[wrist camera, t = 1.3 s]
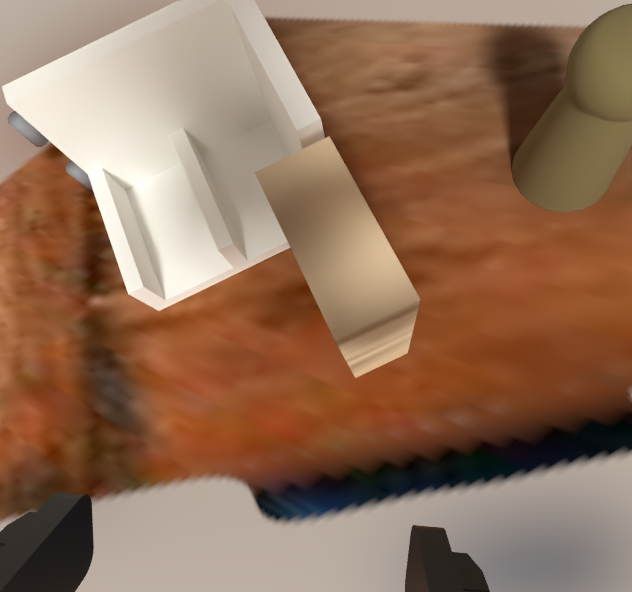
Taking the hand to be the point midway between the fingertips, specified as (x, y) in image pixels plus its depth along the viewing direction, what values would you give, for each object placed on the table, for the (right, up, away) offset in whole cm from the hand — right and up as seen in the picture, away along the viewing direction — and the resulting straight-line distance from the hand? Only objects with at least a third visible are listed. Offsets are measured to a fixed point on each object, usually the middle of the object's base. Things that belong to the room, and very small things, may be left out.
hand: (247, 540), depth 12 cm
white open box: (-5, +12, +22) cm, 26 cm away
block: (+4, +5, +19) cm, 20 cm away
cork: (+17, +14, +19) cm, 30 cm away
